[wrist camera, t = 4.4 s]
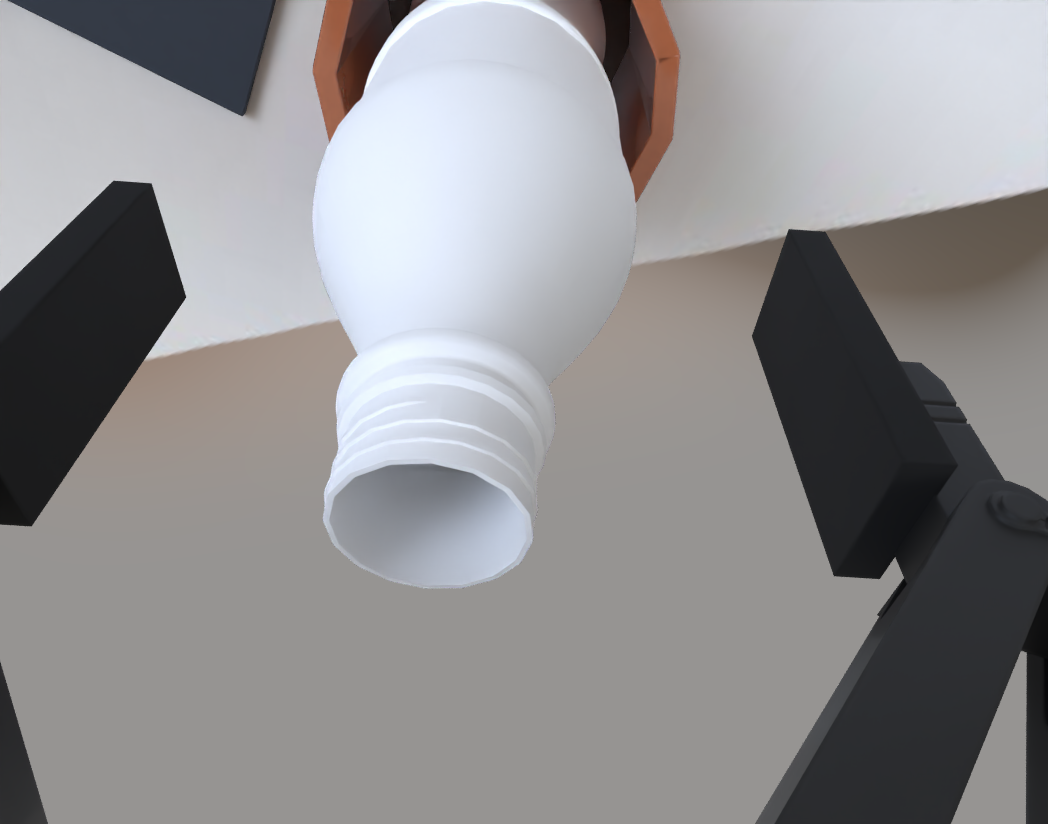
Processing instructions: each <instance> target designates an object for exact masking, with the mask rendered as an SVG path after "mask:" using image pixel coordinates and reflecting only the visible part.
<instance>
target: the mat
mask: <svg viewBox="0 0 1048 824" xmlns="http://www.w3.org/2000/svg"><path fill="white" fill-rule="evenodd" d="M8 1H10V2H12V3H14V4H16V5H18V6H20V7H22V8H24V9H26V10H28V11H30V12H33V13H35V14H37V15H39V16H41V17H43V18H45V19H47V20H49V21H51V22H53V23H55V24H57V25H59V26H61V27H63V28H65V29H67V30H69V31H71V32H73V33H75V34H77V35H79V36H81V37H83V38H85V39H87V40H89V41H91V42H93V43H95V44H97V45H99V46H101V47H103V48H105V49H107V50H109V51H111V52H113V53H115V54H117V55H119V56H121V57H123V58H125V59H127V60H129V61H131V62H133V63H135V64H138V65H140V66H142V67H144V68H146V69H148V70H150V71H152V72H154V73H156V74H158V75H160V76H162V77H164V78H166V79H168V80H170V81H172V82H174V83H176V84H178V85H180V86H182V87H184V88H186V89H188V90H190V91H192V92H194V93H196V94H198V95H200V96H202V97H204V98H206V99H208V100H210V101H212V102H214V103H216V104H218V105H220V106H222V107H224V108H226V109H228V110H230V111H232V112H234V113H236V114H238V115H241V116H243V115H244V114H245V113H246V109H247V105H248V102H249V98H250V94H251V90H252V87H253V83H254V79H255V76H256V72H257V68H258V65H259V61H260V57H261V54H262V50H263V46H264V43H265V39H266V35H267V31H268V28H269V24H270V20H271V17H272V13H273V9H274V6H275V2H276V0H8Z"/></svg>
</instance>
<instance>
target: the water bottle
mask: <svg viewBox="0 0 1048 824" xmlns="http://www.w3.org/2000/svg"><path fill="white" fill-rule="evenodd" d="M605 47H606V30H605V23H604V17H603V12H602V7H601V4H600V1H599V0H412V3H411V7H410V11H409V14H408V15H407V16H406V17H405V18H404V19H403V20H402V21H401V22H400V23H399V24H398V26H397V27H396V28H395V30H394V31H393V32H392V33H391V35H390V36H389V37H388V39H387V41H386V42H385V44H384V46H383V47H382V49H381V50H380V52H379V54H378V56H377V58H376V59H375V61H374V64H373V66H372V68H371V70H370V73H369V75H368V79H367V82H366V85H365V89H364V94H363V96H362V98H361V100H360V101H358V102H357V103H356V104H355V105H354V107H353V108H352V109H351V110H350V112H349V113H348V114H347V115H346V116H345V118H344V119H343V120H342V121H341V123H340V124H339V125H338V127H337V129H336V131H335V133H334V135H333V137H332V139H331V141H330V143H329V145H328V147H327V149H326V151H325V154H324V157H323V160H322V163H321V166H320V169H319V173H318V176H317V181H316V187H315V194H314V201H313V217H312V221H313V238H314V248H315V252H316V256H317V261H318V265H319V268H320V272H321V276H322V280H323V284H324V286H325V288H326V291H327V293H328V296H329V298H330V300H331V303H332V305H333V307H334V310H335V312H336V314H337V316H338V318H339V320H340V322H341V324H342V326H343V328H344V330H345V332H346V334H347V335H348V337H349V339H350V341H351V342H352V344H353V346H354V348H355V350H356V352H357V355H358V356H357V357H356V358H355V359H354V360H353V361H352V362H351V364H350V365H349V366H348V368H347V369H346V371H345V372H344V374H343V377H342V380H341V383H340V385H339V388H338V391H337V397H336V415H337V424H336V427H337V438H338V447H339V449H338V452H337V455H336V458H335V459H334V461H333V464H332V471H331V477H330V479H329V481H328V483H327V485H326V488H325V491H324V503H325V509H324V515H323V522H324V524H325V527H326V529H327V531H328V534H329V536H330V538H331V541H332V543H333V545H334V546H335V547H336V548H337V549H339V550H340V551H341V552H342V553H343V554H344V555H345V556H346V557H347V558H349V559H350V560H351V561H352V562H353V563H354V564H355V565H356V566H358V567H360V568H362V569H364V570H366V571H369V572H371V573H373V574H375V575H377V576H380V577H382V578H384V579H386V580H388V581H391V582H396V583H401V584H406V585H411V586H416V587H421V588H425V589H436V588H465V587H469V586H472V585H476V584H480V583H484V582H487V581H491V580H495V579H497V578H498V577H500V576H502V575H503V574H505V573H506V572H508V571H509V570H511V569H512V568H513V567H515V566H517V565H518V564H519V563H521V561H522V559H523V558H524V556H525V554H526V552H527V550H528V549H529V546H530V545H531V543H532V541H533V531H534V521H535V518H536V516H537V513H538V505H537V476H538V475H539V473H540V471H541V470H542V468H543V466H544V462H545V457H546V454H547V452H548V449H549V447H550V445H551V442H552V440H553V437H554V431H555V424H556V422H555V421H556V416H555V406H554V401H553V398H552V395H551V392H550V389H549V387H548V386H549V385H550V384H551V383H552V382H553V381H554V380H555V379H556V378H557V377H558V376H559V375H560V374H561V373H562V372H563V371H564V370H565V369H566V368H567V367H568V366H569V365H570V364H571V363H572V362H573V361H574V360H575V359H576V358H577V357H578V356H579V355H580V354H581V353H582V352H583V350H584V349H585V348H586V347H587V346H588V345H589V343H590V342H591V341H592V340H593V339H594V337H595V336H596V335H597V334H598V333H599V332H600V330H601V328H602V327H603V325H604V324H605V322H606V321H607V319H608V317H609V316H610V315H611V313H612V311H613V310H614V308H615V306H616V304H617V303H618V301H619V298H620V296H621V293H622V291H623V288H624V286H625V283H626V281H627V278H628V275H629V271H630V268H631V264H632V258H633V253H634V248H635V242H636V219H637V212H636V203H635V194H634V186H633V183H632V180H631V177H630V173H629V170H628V167H627V164H626V161H625V158H624V157H623V155H622V149H621V143H620V137H619V121H618V113H617V108H616V103H615V98H614V95H613V92H612V88H611V85H610V82H609V80H608V78H607V75H606V73H605V71H604V68H603V61H604V56H605Z"/></svg>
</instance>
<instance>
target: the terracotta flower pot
mask: <svg viewBox="0 0 1048 824" xmlns="http://www.w3.org/2000/svg"><path fill="white" fill-rule="evenodd" d="M392 32H393V29H392V23H391V16H390V10H389V4H388V0H327V1H326V6H325V11H324V16H323V20H322V25H321V30H320V35H319V40H318V45H317V50H316V54H315V59H314V64H313V75H314V80H315V84H316V88H317V92H318V96H319V101H320V105H321V109H322V113H323V117H324V122H325V126H326V130H327V134H328V138H329V143H330V141H331V139H332V137H333V135H334V133H335V131H336V129H337V127H338V125H339V124H340V123H341V121H342V120H343V119H344V118H345V116H346V115H347V114H348V113H349V112H350V110H351V109H352V108H353V107H354V105H355V104H356V103H357V102H358V101H360V100H361V98H362V96H363V94H364V89H365V85H366V82H367V79H368V75H369V73H370V70H371V68H372V66H373V64H374V61H375V59H376V58H377V56H378V54H379V52H380V50H381V49H382V47H383V46H384V44H385V42H386V41H387V39H388V37H389V36H390V35H391V33H392ZM679 67H680V50H679V48H678V45H677V42H676V40H675V37H674V34H673V32H672V29H671V26H670V23H669V21H668V18H667V15H666V13H665V10H664V7H663V5H662V2H661V0H631V12H630V34H629V47H628V49H627V51H626V53H625V55H624V57H623V59H622V61H621V63H620V65H619V67H618V69H617V72H616V74H615V76H614V78H613V80H612V82H611V84H610V85H611V88H612V92H613V95H614V98H615V103H616V108H617V113H618V121H619V137H620V143H621V149H622V155H623V157H624V158H625V161H626V164H627V167H628V170H629V173H630V177H631V180H632V183H633V186H634V194H635V203H636V202H637V201H638V199H639V197H640V195H641V194H642V192H643V190H644V188H645V187H646V185H647V183H648V181H649V180H650V178H651V176H652V174H653V173H654V171H655V169H656V167H657V166H658V164H659V162H660V160H661V159H662V157H663V155H664V153H665V152H666V150H667V148H668V146H669V145H670V143H671V141H672V139H673V138H672V137H673V132H674V121H675V111H676V100H677V89H678V78H679Z"/></svg>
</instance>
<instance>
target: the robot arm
mask: <svg viewBox="0 0 1048 824" xmlns="http://www.w3.org/2000/svg"><path fill="white" fill-rule="evenodd" d="M185 299H186V295H185V292H184V288H183V285H182V282H181V278H180V275H179V272H178V269H177V265H176V262H175V259H174V255H173V252H172V249H171V246H170V242H169V239H168V236H167V233H166V229H165V226H164V223H163V219H162V216H161V213H160V210H159V206H158V203H157V200H156V196H155V193H154V190H153V187H152V184H151V183H137V182H123V181H113V182H112V183H111V184H110V185H109V186H108V187H107V188H106V189H105V190H104V191H103V192H102V193H101V194H100V195H99V196H97V197H96V198H95V199H94V200H93V201H92V202H91V203H90V204H89V205H88V206H87V207H86V208H85V209H84V210H83V211H82V212H81V213H80V214H79V215H78V216H77V217H76V218H75V219H74V220H73V221H72V222H71V223H70V224H69V225H68V226H67V227H66V228H65V229H63V230H62V231H61V232H60V233H59V234H58V235H57V236H56V237H55V238H54V239H53V240H52V241H51V242H50V243H49V244H48V245H47V246H46V247H45V248H44V249H43V250H42V251H41V252H40V253H39V254H38V255H37V256H36V257H35V258H34V259H33V260H32V261H31V262H29V263H28V264H27V265H26V266H25V267H24V268H23V269H22V270H21V271H20V272H19V273H18V274H17V275H16V276H15V277H14V278H13V279H12V280H11V281H10V282H9V283H8V284H7V285H6V286H5V287H4V288H3V289H2V290H1V291H0V524H2V525H17V526H18V525H19V526H32V525H33V523H34V522H35V520H36V519H37V517H38V516H39V515H40V513H41V512H42V510H43V509H44V507H45V506H46V504H47V503H48V501H49V500H50V498H51V497H52V495H53V494H54V492H55V491H56V489H57V488H58V487H59V485H60V484H61V482H62V481H63V479H64V477H65V476H66V475H67V473H68V472H69V470H70V469H71V467H72V466H73V464H74V463H75V461H76V460H77V458H78V457H79V455H80V454H81V452H82V451H83V450H84V448H85V447H86V445H87V444H88V442H89V441H90V439H91V438H92V436H93V435H94V433H95V432H96V430H97V429H98V427H99V426H100V424H101V423H102V421H103V420H104V418H105V417H106V415H107V414H108V413H109V411H110V409H111V408H112V406H113V405H114V404H115V402H116V401H117V399H118V398H119V396H120V395H121V393H122V392H123V390H124V389H125V387H126V386H127V384H128V383H129V381H130V380H131V378H132V377H133V375H134V374H135V373H136V371H137V370H138V368H139V367H140V365H141V364H142V362H143V361H144V359H145V358H146V356H147V355H148V353H149V352H150V350H151V349H152V347H153V346H154V344H155V343H156V341H157V340H158V338H159V337H160V336H161V334H162V333H163V331H164V330H165V328H166V327H167V325H168V324H169V322H170V321H171V319H172V318H173V316H174V315H175V313H176V312H177V310H178V309H179V307H180V306H181V304H182V303H183V301H184V300H185ZM752 338H753V341H754V344H755V346H756V349H757V352H758V355H759V358H760V361H761V364H762V367H763V370H764V373H765V376H766V379H767V381H768V384H769V387H770V390H771V393H772V396H773V399H774V402H775V405H776V408H777V411H778V414H779V417H780V420H781V423H782V425H783V428H784V431H785V434H786V437H787V440H788V443H789V446H790V449H791V451H792V454H793V458H794V461H795V464H796V466H797V469H798V472H799V475H800V478H801V481H802V484H803V487H804V489H805V493H806V496H807V498H808V501H809V504H810V507H811V510H812V513H813V516H814V519H815V522H816V525H817V528H818V531H819V534H820V537H821V539H822V542H823V545H824V548H825V551H826V554H827V557H828V560H829V563H830V566H831V569H832V572H833V575H834V576H840V577H855V578H856V577H857V578H872V579H880V578H881V576H882V575H883V574H884V572H885V571H886V569H887V568H888V566H889V565H890V563H891V562H892V561H893V559H894V558H895V557H896V560H897V562H898V564H899V567H900V569H901V571H902V574H903V576H904V579H903V580H902V582H901V583H900V584H899V586H898V587H897V588H896V590H895V591H894V592H893V594H892V595H891V597H890V598H889V599H888V601H887V602H886V604H885V605H884V606H883V608H882V609H881V610H880V612H879V613H878V614H877V615H878V616H879V618H878V620H877V622H876V623H875V625H874V626H873V628H872V630H871V631H870V633H869V635H868V637H867V638H866V640H865V641H864V643H863V645H862V647H861V648H860V650H859V651H858V653H857V655H856V656H855V658H854V660H853V662H852V663H851V665H850V667H849V668H848V670H847V671H846V673H845V675H844V677H843V678H842V680H841V682H840V683H839V685H838V686H837V688H836V690H835V692H834V693H833V695H832V697H831V698H830V700H829V702H828V703H827V705H826V707H825V708H824V710H823V712H822V713H821V715H820V717H819V718H818V720H817V722H816V723H815V725H814V726H813V728H812V730H811V731H810V733H809V735H808V736H807V738H806V740H805V742H804V743H803V745H802V747H801V748H800V750H799V752H798V753H797V755H796V756H795V758H794V760H793V762H792V763H791V765H790V767H789V768H788V770H787V771H786V773H785V775H784V776H783V778H782V780H781V782H780V783H779V785H778V787H777V788H776V790H775V791H774V793H773V795H772V796H771V798H770V800H769V801H768V803H767V805H766V806H765V808H764V810H763V812H762V813H761V815H760V816H759V818H758V820H757V822H756V823H755V824H951V822H952V820H953V817H954V815H955V812H956V810H957V807H958V805H959V802H960V800H961V797H962V795H963V792H964V790H965V787H966V785H967V783H968V780H969V778H970V775H971V772H972V770H973V768H974V765H975V763H976V760H977V758H978V755H979V753H980V750H981V748H982V746H983V743H984V741H985V738H986V736H987V733H988V730H989V728H990V726H991V723H992V721H993V718H994V716H995V713H996V711H997V708H998V706H999V704H1000V701H1001V699H1002V696H1003V694H1004V691H1005V689H1006V686H1007V684H1008V681H1009V679H1010V676H1011V674H1012V671H1013V669H1014V666H1015V663H1016V662H1017V659H1018V657H1019V654H1020V652H1021V651H1024V652H1027V722H1026V724H1027V725H1026V731H1027V732H1026V734H1027V735H1026V737H1027V738H1026V741H1027V742H1026V824H1048V501H1047V500H1046V499H1044V498H1042V497H1041V496H1039V495H1038V494H1036V493H1034V492H1033V491H1031V490H1030V489H1028V488H1026V487H1023V486H1020V485H1018V484H1015V483H1013V482H1009V481H1005V480H1004V479H1003V477H1002V475H1001V474H1000V472H999V470H998V469H997V467H996V466H995V464H994V462H993V461H992V459H991V458H990V456H989V454H988V453H987V451H986V449H985V448H984V446H983V445H982V443H981V442H980V440H979V438H978V437H977V435H976V434H975V432H974V430H973V429H972V427H971V426H970V424H967V423H966V421H967V419H966V418H965V416H964V414H963V413H962V411H961V409H960V408H959V407H956V401H955V400H954V398H953V397H952V395H951V393H950V392H949V390H948V389H947V387H946V385H945V384H944V382H943V381H942V380H941V379H939V378H938V377H937V376H936V375H934V374H933V373H932V372H931V371H930V370H929V369H928V368H926V367H925V366H924V365H923V364H922V363H915V362H901V361H899V360H898V359H897V357H896V355H895V353H894V352H893V350H892V348H891V346H890V345H889V343H888V341H887V339H886V338H885V336H884V334H883V332H882V330H881V329H880V327H879V325H878V323H877V322H876V320H875V318H874V317H873V315H872V313H871V311H870V309H869V308H868V306H867V304H866V302H865V301H864V299H863V297H862V295H861V294H860V292H859V290H858V288H857V287H856V285H855V283H854V281H853V280H852V278H851V276H850V274H849V273H848V271H847V269H846V267H845V265H844V264H843V262H842V260H841V259H840V257H839V255H838V253H837V251H836V250H835V248H834V246H833V245H832V243H831V241H830V239H829V237H828V236H827V234H826V232H821V231H807V230H793V229H789V230H788V233H787V236H786V239H785V242H784V245H783V248H782V250H781V253H780V256H779V260H778V262H777V265H776V268H775V271H774V274H773V277H772V280H771V282H770V285H769V289H768V291H767V294H766V297H765V300H764V303H763V306H762V309H761V312H760V315H759V317H758V320H757V323H756V326H755V329H754V332H753V335H752ZM0 824H48V822H47V819H46V816H45V812H44V809H43V805H42V802H41V799H40V795H39V792H38V788H37V785H36V782H35V779H34V775H33V771H32V768H31V765H30V761H29V758H28V754H27V751H26V748H25V745H24V741H23V737H22V734H21V731H20V727H19V724H18V720H17V717H16V714H15V710H14V707H13V703H12V700H11V697H10V693H9V690H8V686H7V683H6V680H5V676H4V673H3V670H2V666H1V663H0Z"/></svg>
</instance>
